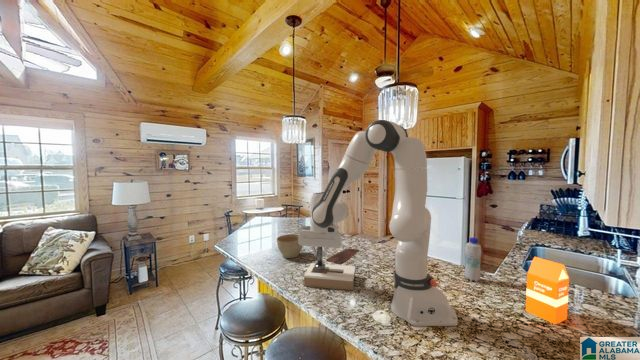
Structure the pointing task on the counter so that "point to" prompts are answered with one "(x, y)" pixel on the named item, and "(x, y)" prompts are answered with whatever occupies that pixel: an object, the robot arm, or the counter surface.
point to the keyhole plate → (330, 277)
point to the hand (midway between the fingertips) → (319, 255)
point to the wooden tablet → (342, 256)
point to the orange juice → (547, 290)
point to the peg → (319, 260)
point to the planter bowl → (289, 245)
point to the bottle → (472, 260)
